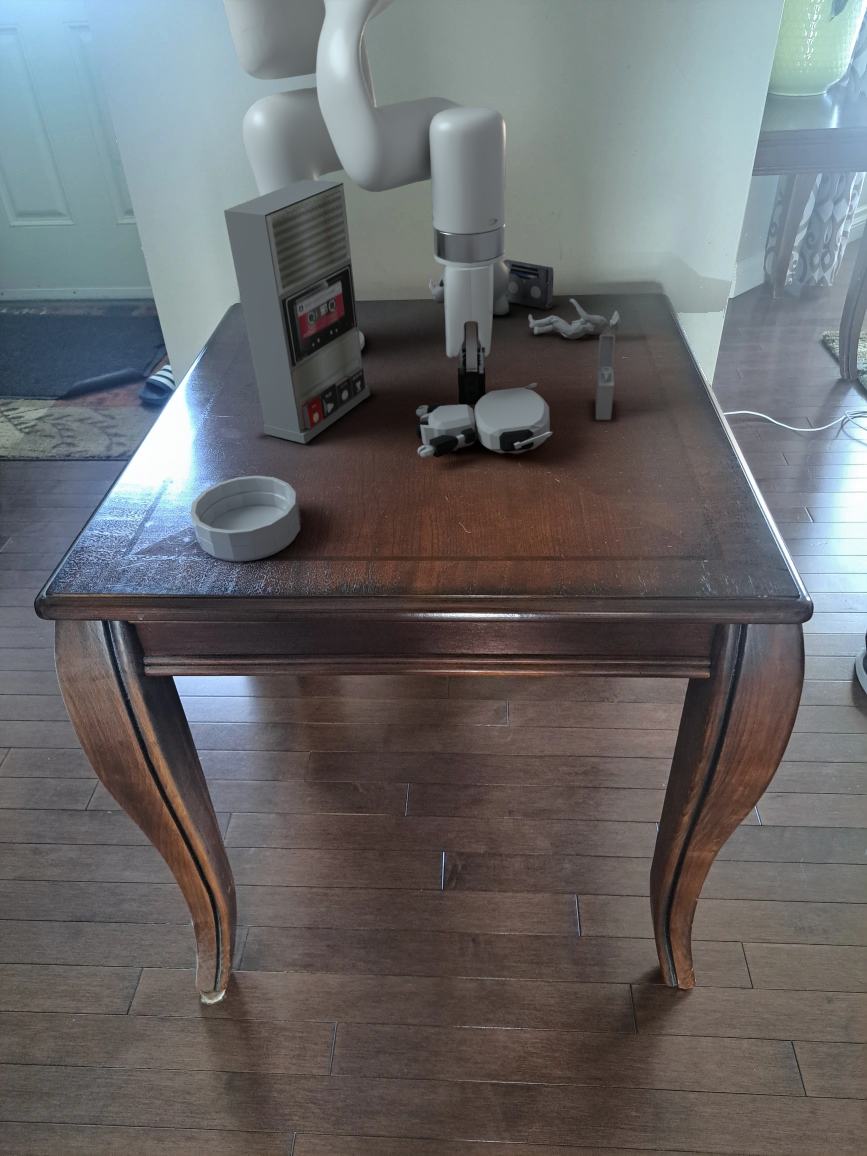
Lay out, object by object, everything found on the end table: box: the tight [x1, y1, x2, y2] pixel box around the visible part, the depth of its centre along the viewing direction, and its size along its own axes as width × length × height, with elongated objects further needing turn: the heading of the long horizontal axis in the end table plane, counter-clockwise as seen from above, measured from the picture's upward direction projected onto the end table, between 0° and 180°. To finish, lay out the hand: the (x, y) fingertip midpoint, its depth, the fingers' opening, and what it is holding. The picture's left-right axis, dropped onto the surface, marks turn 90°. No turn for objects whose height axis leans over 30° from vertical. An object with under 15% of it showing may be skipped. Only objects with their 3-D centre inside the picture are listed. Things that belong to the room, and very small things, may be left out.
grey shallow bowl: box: [189, 475, 302, 562], centre depth 81 cm, size 10×10×4 cm
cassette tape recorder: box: [223, 179, 371, 445], centre depth 93 cm, size 14×6×25 cm, turn 151°
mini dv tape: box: [502, 258, 555, 311], centre depth 126 cm, size 8×2×6 cm, turn 52°
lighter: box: [595, 333, 616, 421], centre depth 97 cm, size 7×2×8 cm, turn 172°
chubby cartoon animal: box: [428, 259, 510, 316], centre depth 123 cm, size 7×12×8 cm, turn 97°
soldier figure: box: [527, 298, 621, 340], centre depth 115 cm, size 8×5×12 cm
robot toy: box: [414, 382, 554, 459], centre depth 92 cm, size 12×4×15 cm
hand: (472, 401), depth 99 cm, fingers closed
